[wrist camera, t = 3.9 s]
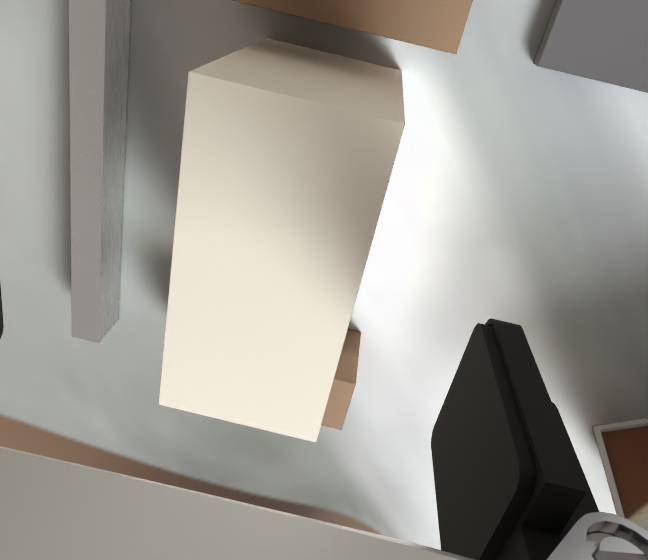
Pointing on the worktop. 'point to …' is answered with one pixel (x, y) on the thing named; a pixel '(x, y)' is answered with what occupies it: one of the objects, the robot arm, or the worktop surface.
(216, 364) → the cream cuboid
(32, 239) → the worktop surface
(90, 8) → the blocks
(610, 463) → the food container
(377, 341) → the worktop surface
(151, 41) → the worktop surface
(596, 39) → the mat
